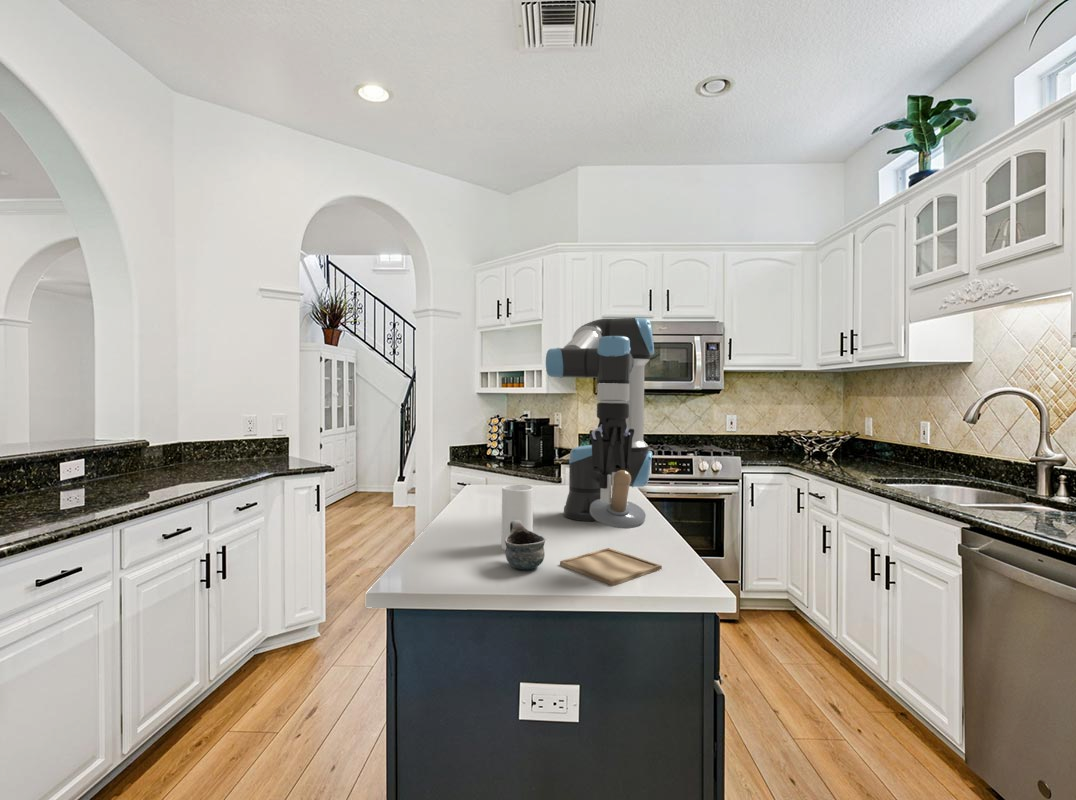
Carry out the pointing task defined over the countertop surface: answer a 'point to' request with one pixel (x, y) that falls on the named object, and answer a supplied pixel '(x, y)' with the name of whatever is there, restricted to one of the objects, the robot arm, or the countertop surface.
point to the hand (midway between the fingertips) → (611, 500)
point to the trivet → (610, 566)
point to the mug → (524, 547)
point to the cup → (516, 508)
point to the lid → (618, 506)
